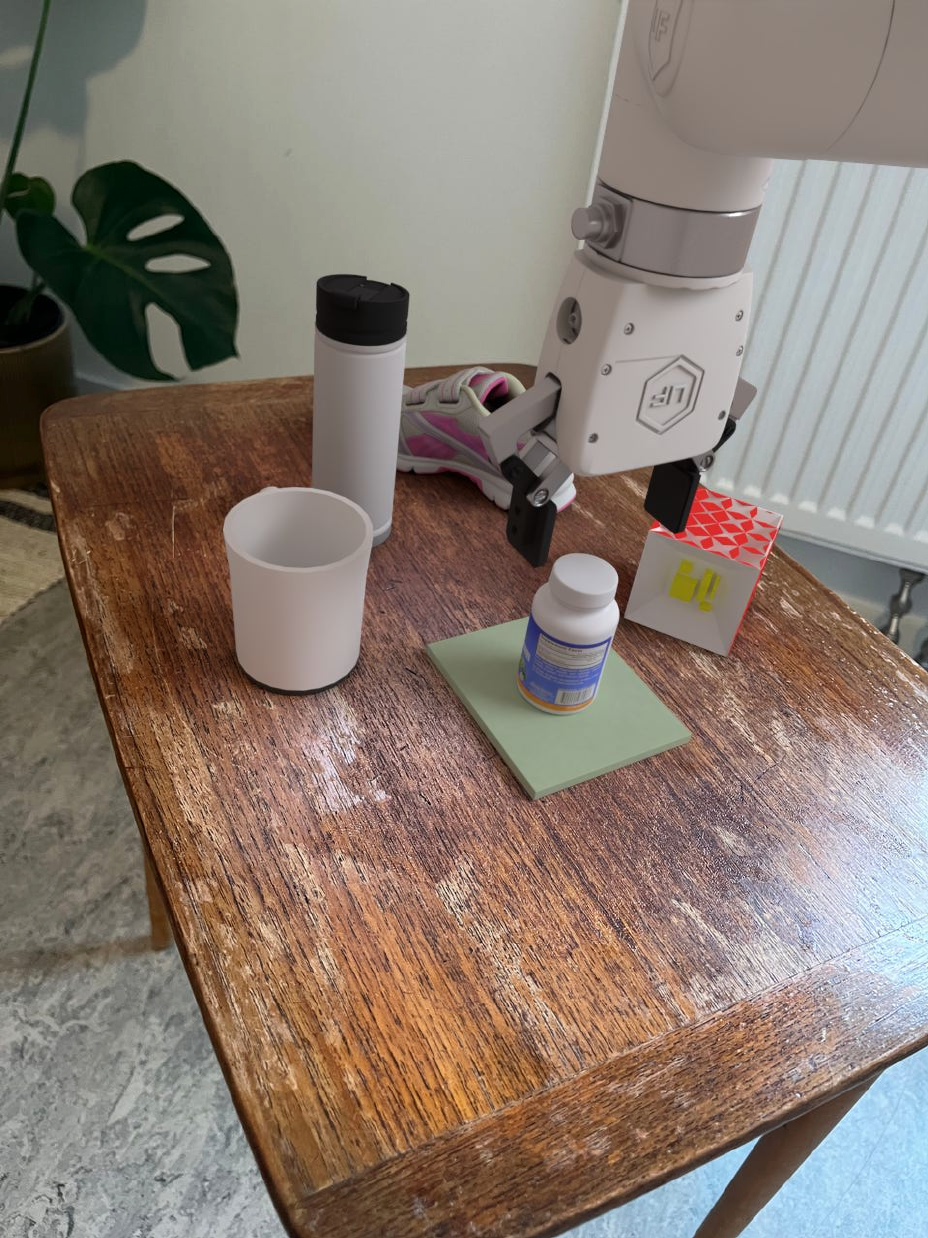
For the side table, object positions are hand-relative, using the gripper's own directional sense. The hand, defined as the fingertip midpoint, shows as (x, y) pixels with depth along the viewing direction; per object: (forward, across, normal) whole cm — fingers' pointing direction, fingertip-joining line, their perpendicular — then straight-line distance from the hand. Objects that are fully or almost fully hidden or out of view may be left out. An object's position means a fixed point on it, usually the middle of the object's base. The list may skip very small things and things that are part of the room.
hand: (596, 536), depth 55 cm
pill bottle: (+13, 0, +1) cm, 13 cm away
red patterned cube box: (+13, +15, +5) cm, 21 cm away
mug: (+13, -14, +12) cm, 23 cm away
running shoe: (+13, +8, +29) cm, 32 cm away
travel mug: (+13, -5, +23) cm, 27 cm away
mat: (+13, 0, +1) cm, 13 cm away
